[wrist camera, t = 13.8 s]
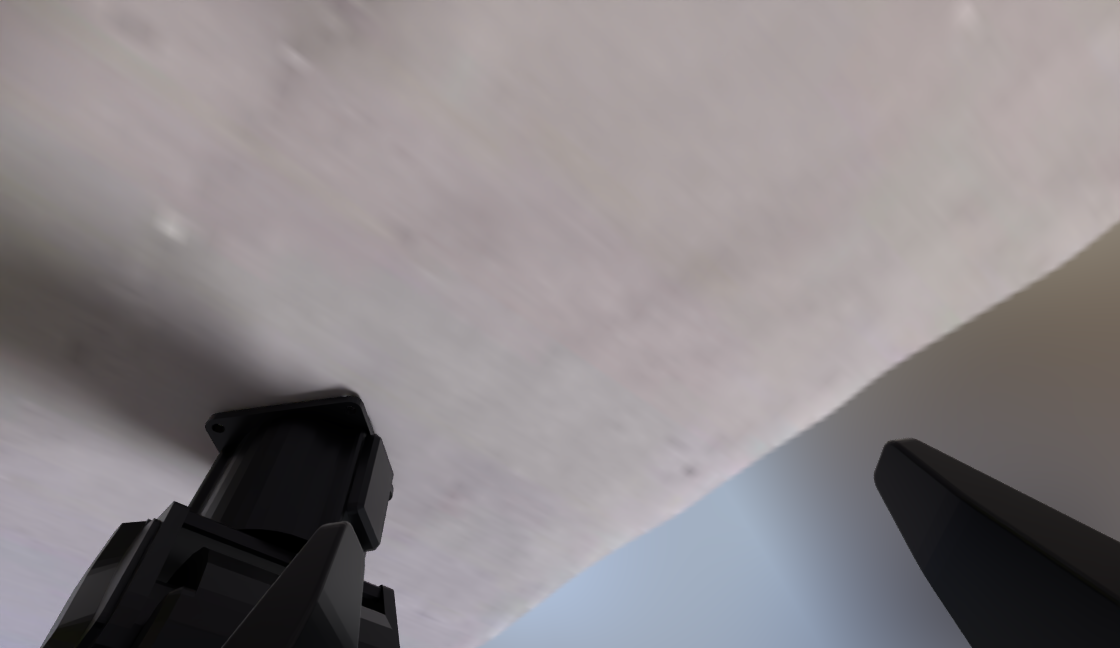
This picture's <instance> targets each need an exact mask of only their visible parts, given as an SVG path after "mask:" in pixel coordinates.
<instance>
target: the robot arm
mask: <svg viewBox="0 0 1120 648" xmlns="http://www.w3.org/2000/svg"><path fill="white" fill-rule="evenodd" d="M347 406H352V407H354V408H355V409H349V408H347ZM218 424H220V425H223V426H220V425H218ZM205 428H206V431H207V432H208V434H209V436H210V438H211V439H212V441H213V443H214V444H215V446H216V448H217V450H218V451H219V453H220V454H219V455H218V457H217V459H216V460H215V462H214V464H213V465H212V467H211V469H210V470H209V472H208V474H207V475H206V477H205V479H204V480H203V482H202V484H201V486H200V487H199V489H198V491H197V492H196V494H195V496H194V497H193V499H192V501H191V502H190V504H189V506H185V505H183V504H180V503H178V502H175V501H174V502H172V504H171V505H170V506H169V507H168V508H167V509H166V510H165V511H164V512H163V513H162V514H161V515H160V516H159V518H158V519H155V518H154V519H153V520H150V519H148V520H147V521H142V522H130V523H122V524H121V525H120V526H119V528H118V529H117V530H116V531H115V532H114V533H113V535H112V536H111V537H110V539H109V540H108V542H107V543H106V544H105V546H104V547H103V549H102V550H101V551H100V553H99V554H98V556H97V557H96V558H95V560H94V561H93V563H92V564H91V566H90V567H89V568H88V570H87V571H86V573H85V574H84V576H83V577H82V579H81V580H80V582H79V583H78V585H77V586H76V588H75V589H74V591H73V593H72V594H71V596H70V597H69V599H68V601H67V603H66V604H65V606H64V608H63V609H62V611H61V613H60V615H59V616H58V618H57V620H56V622H55V623H54V625H53V627H52V628H51V630H50V632H49V634H48V635H47V637H46V639H45V640H44V642H43V644H42V646H41V647H40V648H400V644H399V634H398V625H397V616H396V606H395V597H394V590H393V589H391V588H388V587H386V586H383V585H380V586H376V585H374V584H371V583H369V582H366V581H364V570H365V556H366V552H367V551H373V550H376V548H377V547H378V546H379V545H380V542H381V537H382V532H383V527H384V521H385V516H386V511H387V506H388V501H389V500H391V498H392V496H393V485H392V480H393V471H392V468H391V465H390V462H389V459H388V456H387V453H386V450H385V447H384V445H383V442H382V439H381V437H379V436H378V435H377V434H374V432H373V429H372V426H371V423H370V420H369V418H368V415H367V412H366V409H365V406H364V403H363V402H362V400H361V399H359V398H358V397H355V396H344V397H337V398H329V399H321V400H314V401H306V402H299V403H291V404H284V405H276V406H268V407H261V408H253V409H246V410H238V411H231V412H223V413H217V414H213V415H212V416H211V417H210V418H209V420H208V421H207V423H206V425H205ZM874 481H875V485H876V487H877V490H878V491H879V493H880V495H881V497H882V499H883V501H884V503H885V504H886V506H887V508H888V510H889V512H890V514H891V515H892V517H893V519H894V521H895V523H896V525H897V527H898V528H899V531H900V532H901V534H902V536H903V538H904V540H905V542H906V543H907V545H908V547H909V549H910V551H911V553H912V555H913V557H914V558H915V560H916V562H917V564H918V565H919V567H920V569H921V570H922V572H923V574H924V576H925V577H926V579H927V580H928V582H929V583H930V585H931V587H932V588H933V590H934V591H935V592H936V594H937V596H938V597H939V599H940V600H941V602H942V603H943V605H944V606H945V608H946V609H947V611H948V612H949V614H950V615H951V617H952V618H953V620H954V621H955V623H956V624H957V626H958V627H959V629H960V630H961V632H962V633H963V635H964V636H965V638H966V639H967V641H968V642H969V644H970V646H971V647H972V648H1120V542H1119V541H1117V540H1115V539H1113V538H1111V537H1109V536H1107V535H1105V534H1103V533H1101V532H1099V531H1097V530H1095V529H1093V528H1091V527H1089V526H1087V525H1085V524H1083V523H1081V522H1079V521H1077V520H1075V519H1073V518H1071V517H1069V516H1067V515H1065V514H1063V513H1061V512H1059V511H1057V510H1055V509H1053V508H1051V507H1049V506H1047V505H1045V504H1043V503H1042V502H1039V501H1038V500H1036V499H1034V498H1032V497H1030V496H1028V495H1026V494H1023V493H1022V492H1020V491H1018V490H1016V489H1014V488H1012V487H1010V486H1008V485H1006V484H1004V483H1002V482H1000V481H998V480H996V479H994V478H992V477H990V476H988V475H986V474H984V473H982V472H980V471H978V470H976V469H974V468H972V467H970V466H968V465H966V464H965V463H962V462H960V461H959V460H957V459H955V458H953V457H951V456H949V455H947V454H945V453H943V452H941V451H939V450H937V449H935V448H933V447H931V446H929V445H927V444H925V443H923V442H921V441H919V440H917V439H914V438H903V439H895V440H890V441H888V442H887V443H885V445H884V447H883V450H882V452H881V455H880V458H879V460H878V463H877V466H876V468H875V471H874Z"/></svg>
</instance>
